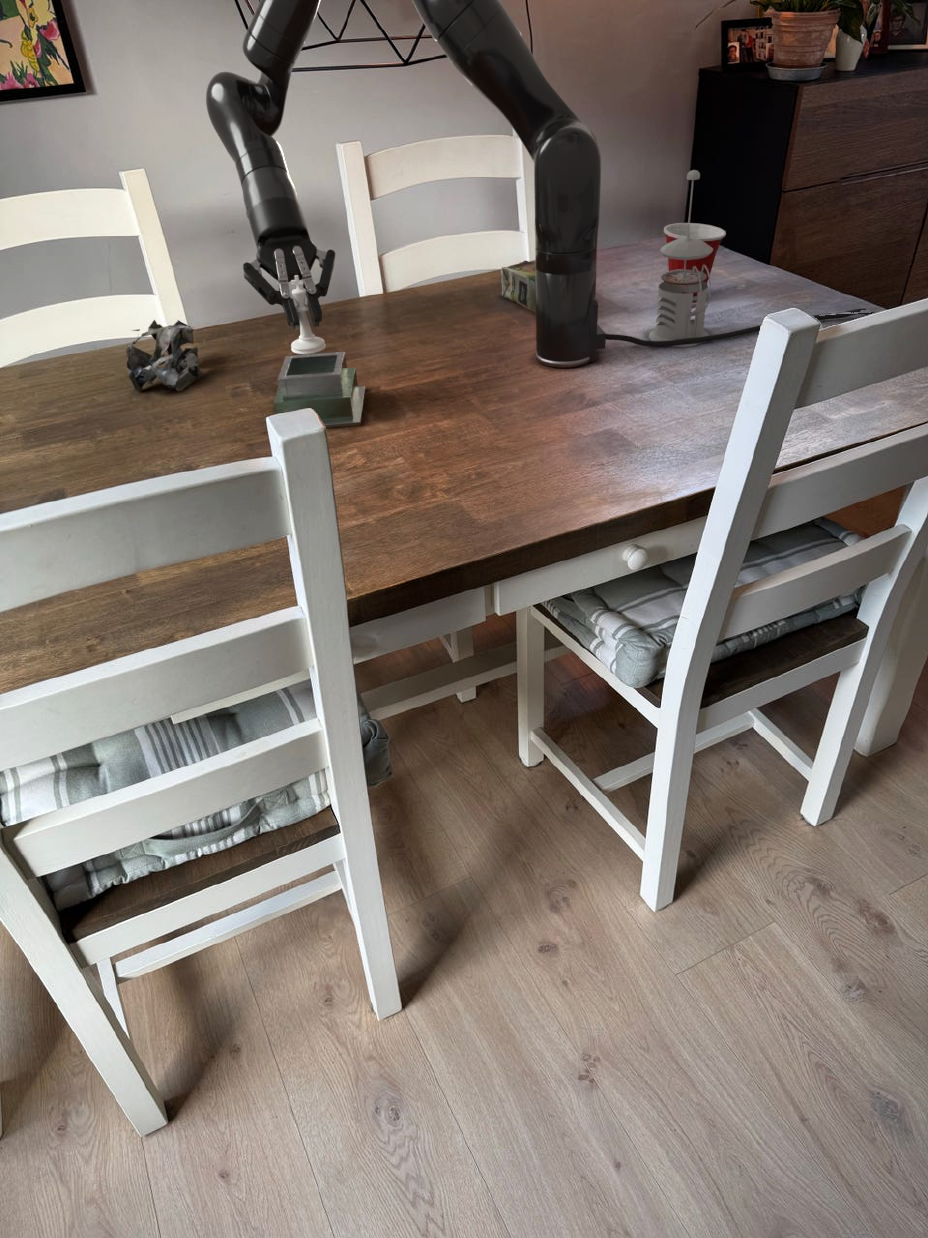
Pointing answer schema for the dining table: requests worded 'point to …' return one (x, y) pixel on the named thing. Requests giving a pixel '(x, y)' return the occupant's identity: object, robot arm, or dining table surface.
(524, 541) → the dining table surface
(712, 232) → the plastic cup
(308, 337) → the chess piece
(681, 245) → the french press
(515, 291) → the juice carton
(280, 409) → the stand
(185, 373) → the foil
